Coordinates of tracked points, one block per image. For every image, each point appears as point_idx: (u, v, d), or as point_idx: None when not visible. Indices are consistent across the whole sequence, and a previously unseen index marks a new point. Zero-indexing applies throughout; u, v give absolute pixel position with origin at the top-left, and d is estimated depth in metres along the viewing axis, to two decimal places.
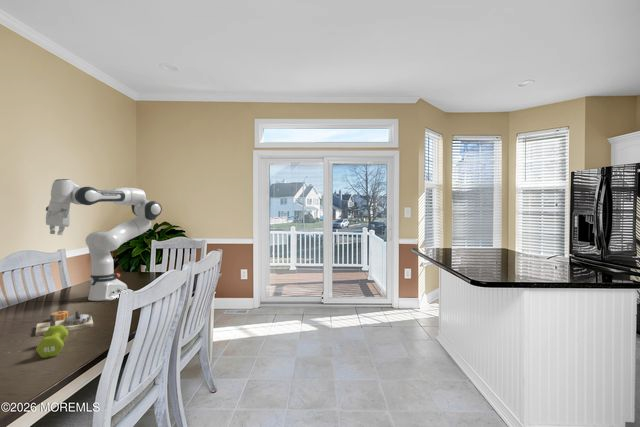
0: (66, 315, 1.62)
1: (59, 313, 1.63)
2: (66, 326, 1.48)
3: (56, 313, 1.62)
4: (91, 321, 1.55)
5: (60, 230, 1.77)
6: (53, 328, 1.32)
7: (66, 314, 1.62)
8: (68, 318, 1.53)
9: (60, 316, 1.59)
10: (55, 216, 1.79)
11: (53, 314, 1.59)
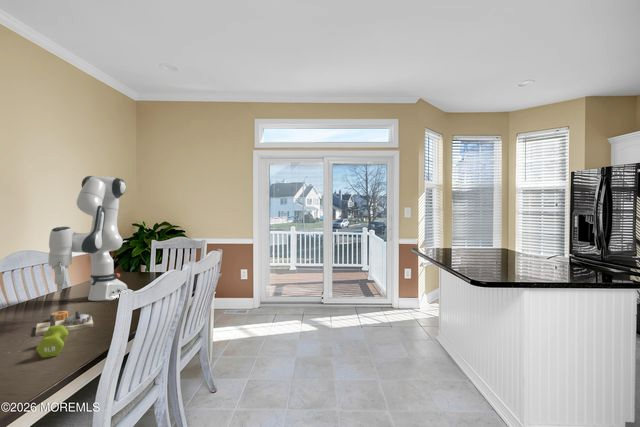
0: (66, 315, 1.62)
1: (59, 313, 1.63)
2: (66, 326, 1.48)
3: (56, 313, 1.62)
4: (91, 321, 1.55)
5: (58, 287, 1.56)
6: (53, 328, 1.32)
7: (66, 314, 1.62)
8: (68, 318, 1.53)
9: (60, 316, 1.59)
10: None
11: (53, 314, 1.59)
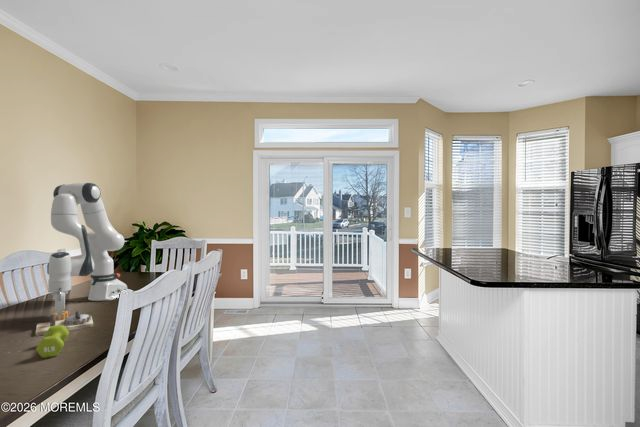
0: (66, 315, 1.62)
1: None
2: (66, 326, 1.48)
3: (56, 313, 1.62)
4: (91, 321, 1.55)
5: (58, 313, 1.57)
6: (54, 328, 1.32)
7: (66, 314, 1.62)
8: (68, 318, 1.53)
9: None
10: None
11: (53, 314, 1.60)
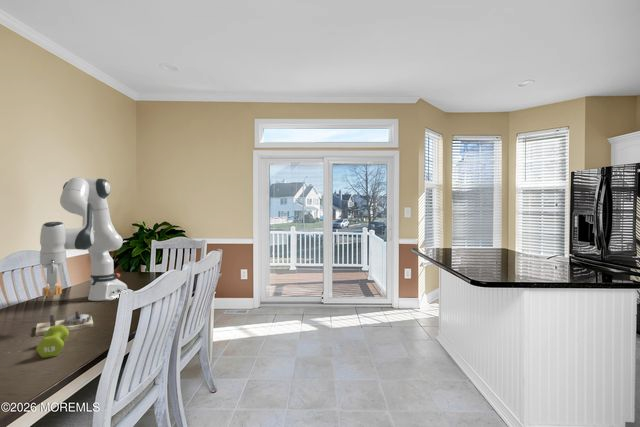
0: (59, 290, 1.49)
1: None
2: (66, 326, 1.48)
3: (48, 287, 1.49)
4: (91, 321, 1.55)
5: (51, 287, 1.44)
6: (54, 328, 1.32)
7: (59, 289, 1.49)
8: (68, 318, 1.53)
9: None
10: None
11: (45, 288, 1.46)
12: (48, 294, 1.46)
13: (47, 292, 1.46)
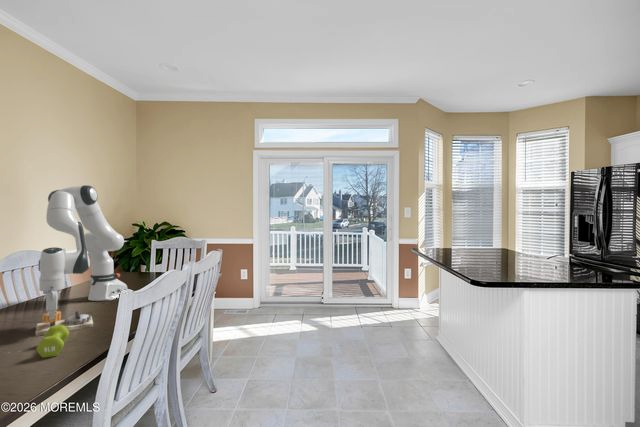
0: (58, 316, 1.49)
1: None
2: (66, 326, 1.48)
3: (48, 314, 1.49)
4: (91, 321, 1.55)
5: (50, 314, 1.44)
6: (54, 328, 1.32)
7: (58, 315, 1.49)
8: (68, 318, 1.53)
9: None
10: None
11: (44, 315, 1.46)
12: (47, 321, 1.46)
13: (46, 319, 1.46)
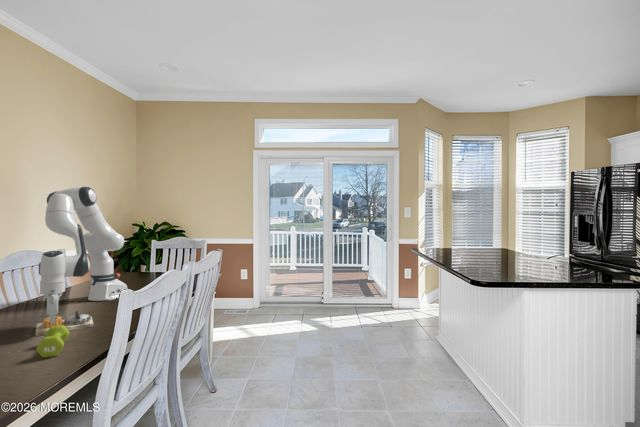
0: (59, 321, 1.49)
1: None
2: (66, 326, 1.48)
3: (48, 319, 1.49)
4: (91, 321, 1.55)
5: (51, 317, 1.44)
6: (54, 328, 1.32)
7: (59, 320, 1.49)
8: (68, 318, 1.53)
9: None
10: None
11: (45, 320, 1.47)
12: (48, 326, 1.46)
13: (47, 324, 1.46)
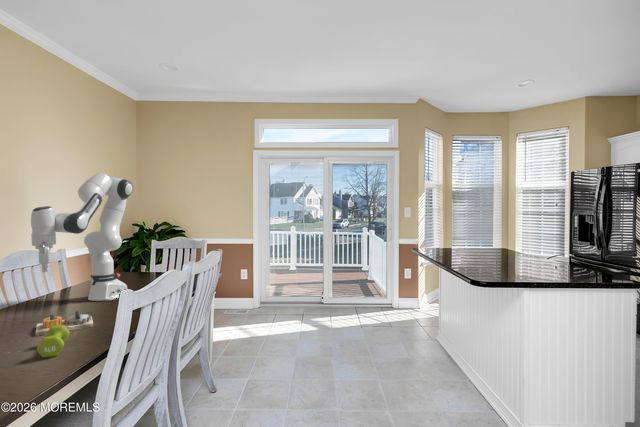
0: (59, 321, 1.49)
1: None
2: (66, 326, 1.48)
3: (48, 319, 1.49)
4: (91, 321, 1.55)
5: (43, 267, 1.55)
6: (54, 328, 1.32)
7: (59, 320, 1.49)
8: (68, 318, 1.53)
9: (53, 322, 1.47)
10: None
11: (45, 320, 1.47)
12: (48, 326, 1.46)
13: (47, 324, 1.46)
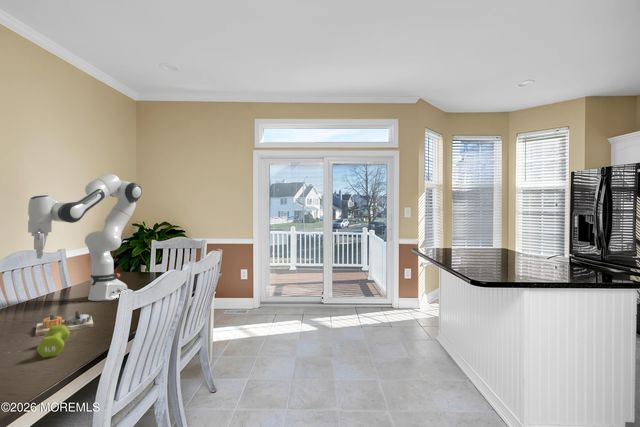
0: (59, 321, 1.49)
1: None
2: (66, 326, 1.48)
3: (48, 319, 1.49)
4: (91, 321, 1.55)
5: (38, 253, 1.60)
6: (54, 328, 1.32)
7: (59, 320, 1.49)
8: (68, 318, 1.53)
9: (53, 322, 1.47)
10: None
11: (45, 320, 1.47)
12: (48, 326, 1.46)
13: (47, 324, 1.46)
